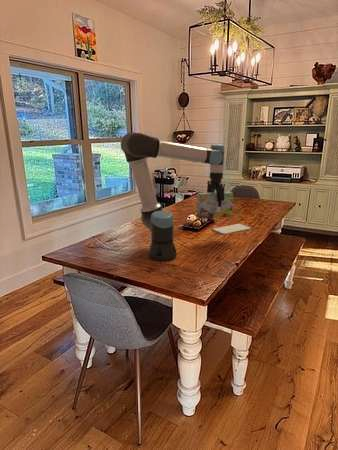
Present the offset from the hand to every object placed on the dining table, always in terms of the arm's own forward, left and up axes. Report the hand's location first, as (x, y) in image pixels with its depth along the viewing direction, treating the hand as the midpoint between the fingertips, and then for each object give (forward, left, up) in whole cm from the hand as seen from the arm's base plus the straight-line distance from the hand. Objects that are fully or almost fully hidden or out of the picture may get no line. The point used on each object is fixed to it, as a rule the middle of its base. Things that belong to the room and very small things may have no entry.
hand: (214, 210), depth 190 cm
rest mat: (+10, -23, -18) cm, 31 cm away
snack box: (0, 0, -4) cm, 4 cm away
